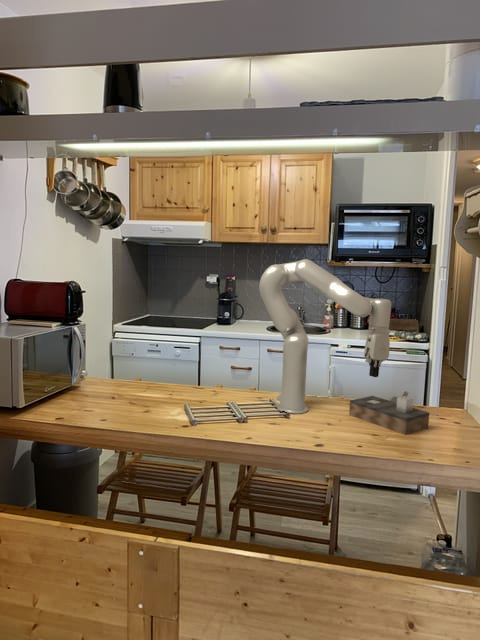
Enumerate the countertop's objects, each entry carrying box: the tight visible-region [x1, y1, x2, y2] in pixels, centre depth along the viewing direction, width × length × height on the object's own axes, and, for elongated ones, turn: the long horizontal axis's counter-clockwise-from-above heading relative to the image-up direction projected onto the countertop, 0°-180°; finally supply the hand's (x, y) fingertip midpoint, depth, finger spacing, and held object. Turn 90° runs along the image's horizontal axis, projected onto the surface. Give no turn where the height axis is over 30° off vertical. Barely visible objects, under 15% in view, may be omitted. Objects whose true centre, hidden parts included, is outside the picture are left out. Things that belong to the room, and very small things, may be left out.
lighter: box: [389, 390, 410, 403], centre depth 203 cm, size 7×2×8 cm, turn 78°
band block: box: [348, 395, 430, 436], centre depth 186 cm, size 26×14×6 cm, turn 36°
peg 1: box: [366, 400, 381, 404], centre depth 192 cm, size 4×4×6 cm
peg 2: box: [396, 395, 414, 414], centre depth 180 cm, size 4×4×6 cm
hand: (373, 376), depth 190 cm, fingers closed
